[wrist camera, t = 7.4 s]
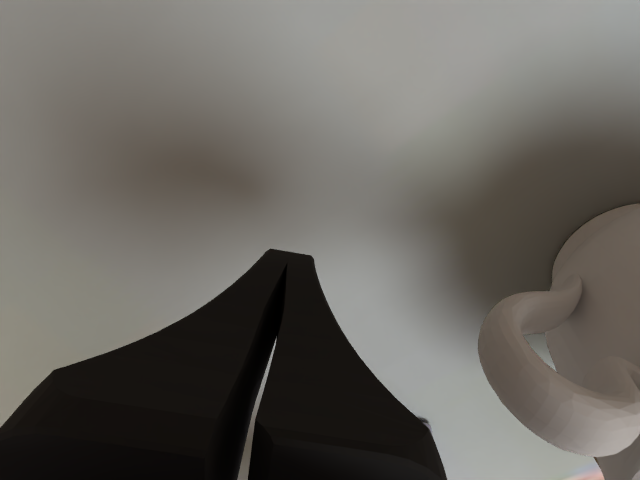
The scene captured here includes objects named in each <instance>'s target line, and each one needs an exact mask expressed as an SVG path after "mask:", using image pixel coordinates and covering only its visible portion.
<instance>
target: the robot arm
mask: <svg viewBox="0 0 640 480" xmlns="http://www.w3.org/2000/svg"><path fill="white" fill-rule="evenodd" d="M276 336H277V339H276ZM275 340H276V346H275V350H274V354H273V358H272V362H271V365H270V369H269V373H268V377H267V381H266V384H265V388H264V391H263V395H262V398H261V402H260V405H259V409H258V412H257V416H256V419H255V426H254V434H253V442H252V450H251V458H250V466H249V474H248V480H447V478H446V474H445V470H444V467H443V464H442V461H441V458H440V455H439V453H438V450H437V447H436V444H435V442H434V439H433V436H432V429H431V426H430V425H429V424H428V423H424V422H421V421H420V420H419V419H418V418H417V417H416V416H415V415H414V414H413V413H412V412H410V411H409V410H408V409H407V408H406V407H405V406H404V405H403V404H402V403H400V402H399V401H398V400H397V399H396V398H395V397H394V396H393V395H392V394H391V393H390V392H389V391H388V390H387V389H386V387H385V386H384V385H383V384H382V383H381V382H380V381H379V380H378V379H377V378H376V377H375V375H374V374H373V373H372V372H371V370H370V369H369V368H368V367H367V366H366V364H365V363H364V362H363V361H362V360H361V358H360V357H359V356H358V354H357V353H356V351H355V350H354V348H353V347H352V346H351V344H350V343H349V341H348V340H347V338H346V336H345V335H344V333H343V332H342V330H341V328H340V326H339V325H338V323H337V321H336V319H335V317H334V315H333V313H332V311H331V309H330V307H329V305H328V303H327V301H326V298H325V296H324V293H323V291H322V288H321V286H320V283H319V280H318V277H317V273H316V269H315V264H314V259H313V257H312V256H311V255H305V254H299V253H293V252H287V251H281V250H275V249H269V250H268V251H266V252H265V254H264V255H263V256H262V257H261V258H260V259H259V260H258V261H257V262H256V263H255V264H254V265H253V266H252V267H251V268H250V269H249V270H248V271H247V272H246V273H245V274H244V275H242V276H241V277H240V278H239V279H238V280H237V281H236V282H235V283H233V284H232V285H231V286H230V287H228V288H227V289H226V290H225V291H223V292H222V293H221V294H219V295H218V296H217V297H216V298H214V299H213V300H211V301H210V302H208V303H207V304H206V305H204V306H203V307H201V308H200V309H198V310H196V311H195V312H193V313H192V314H190V315H188V316H187V317H185V318H183V319H181V320H179V321H177V322H176V323H174V324H172V325H170V326H168V327H166V328H164V329H162V330H160V331H158V332H156V333H154V334H152V335H149V336H147V337H145V338H143V339H140V340H138V341H136V342H133V343H131V344H128V345H126V346H123V347H121V348H118V349H116V350H113V351H110V352H108V353H105V354H102V355H99V356H96V357H93V358H90V359H87V360H84V361H81V362H78V363H75V364H72V365H69V366H66V367H62V368H59V369H56V370H54V371H53V372H52V373H51V374H50V375H49V376H48V377H47V378H46V379H45V380H43V381H42V382H41V383H40V384H39V385H38V386H37V387H36V388H35V389H34V390H33V391H32V393H31V394H30V395H29V396H28V397H27V398H26V399H25V400H24V401H23V403H22V404H21V405H20V406H19V407H18V408H17V409H16V411H15V412H14V413H13V414H12V415H11V416H10V417H9V419H8V420H7V421H6V422H5V423H4V424H3V425H2V427H1V428H0V480H237V478H238V473H239V469H240V464H241V460H242V455H243V451H244V446H245V442H246V437H247V433H248V428H249V424H250V420H251V415H252V412H253V408H254V405H255V401H256V398H257V395H258V392H259V389H260V386H261V382H262V379H263V376H264V373H265V370H266V367H267V364H268V361H269V358H270V355H271V352H272V349H273V346H274V343H275Z"/></svg>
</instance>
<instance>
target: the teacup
mask: <svg viewBox="0 0 640 480" xmlns="http://www.w3.org/2000/svg"><path fill="white" fill-rule="evenodd" d="M543 332H545V335H546V340H547V345H548V349H549V352H550V354H551V357H552V360H553V362H554V365H555V368H556V370H557V372H556V371H555V370H554V369H552V368H551V367H550V366H548V365H547V364H546V363H545V362H544V361H543V360H542V359H541V358H540V357H539V356H538V355H537V354H536V353H535V352H534V351H533V350H532V348H531V347H530V345H529V344H528V342H527V341H526V340H525V338H524V336H523V335H527V334H536V333H543ZM478 353H479V358H480V362H481V365H482V368H483V371H484V373H485V375H486V377H487V380H488V382H489V384H490V385H491V387H492V388H493V390H494V391H495V393H496V394H497V396H498V397H499V399H500V400H501V402H502V403H503V404H504V405H505V406H506V407H507V409H508V410H509V411H510V412H511V413H512V414H513V415H514V416H515V417H516V418H517V419H518V420H519V421H520V422H521V423H522V424H523V425H524V426H526V427H527V428H528V429H529V430H531V431H532V432H533V433H535V434H536V435H537V436H539V437H540V438H542V439H544V440H545V441H547V442H548V443H550V444H552V445H554V446H556V447H558V448H560V449H562V450H566V451H569V452H573V453H577V454H580V455H584V456H592V457H596V458H597V461H598V463H599V466H600V468H601V471H602V473H603V476H604V478H605V480H640V203H639V204H631V205H626V206H622V207H619V208H615V209H612V210H610V211H607V212H605V213H603V214H601V215H599V216H597V217H595V218H593V219H591V220H590V221H588V222H587V223H585V224H584V225H583V226H581V227H580V228H579V229H578V230H577V231H576V232H574V233H573V234H572V235H571V236H570V238H569V239H568V240H567V241H566V242H565V244H564V245H563V247H562V248H561V249H560V251H559V253H558V255H557V257H556V260H555V262H554V265H553V270H552V286H551V288H550V291H531V292H523V293H516V294H513V295H511V296H509V297H506V298H504V299H503V300H501V301H500V302H499V303H497V304H496V305H495V306H494V307H493V308H492V310H491V311H490V312H489V314H488V315H487V316H486V318H485V320H484V322H483V324H482V326H481V329H480V334H479V339H478Z"/></svg>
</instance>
